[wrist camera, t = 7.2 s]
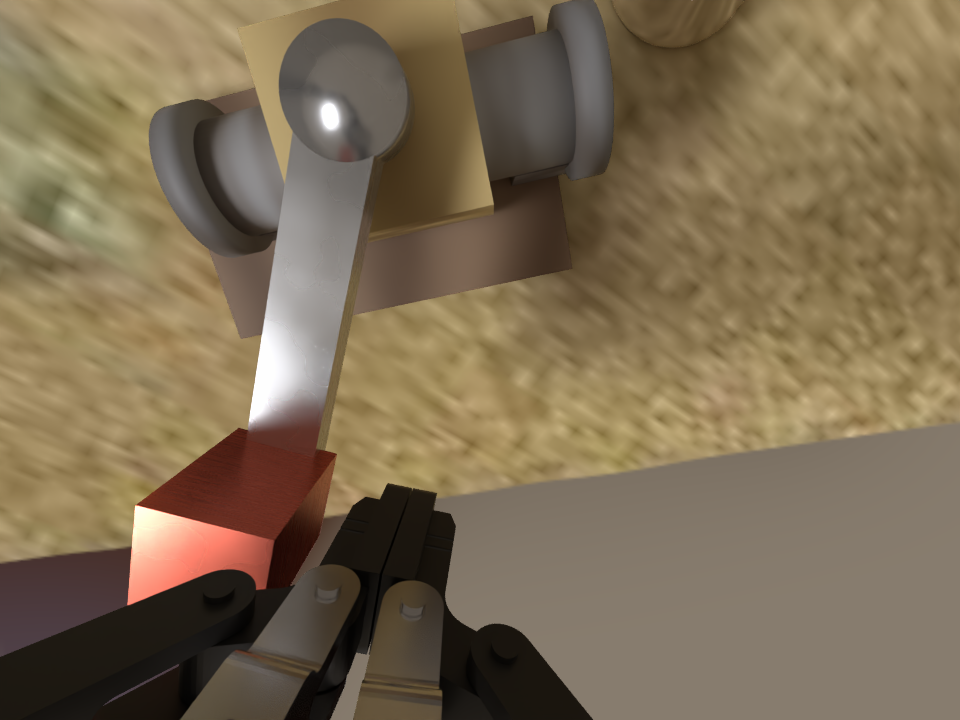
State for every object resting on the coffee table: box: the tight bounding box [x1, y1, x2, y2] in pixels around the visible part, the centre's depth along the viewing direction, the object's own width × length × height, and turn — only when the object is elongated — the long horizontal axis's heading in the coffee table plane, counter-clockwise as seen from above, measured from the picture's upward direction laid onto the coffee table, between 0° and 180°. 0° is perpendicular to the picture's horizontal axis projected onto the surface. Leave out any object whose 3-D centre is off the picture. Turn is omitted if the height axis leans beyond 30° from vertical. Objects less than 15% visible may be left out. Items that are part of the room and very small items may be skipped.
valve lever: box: [128, 18, 415, 605], centre depth 11 cm, size 14×3×5 cm, turn 164°
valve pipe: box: [149, 0, 614, 339], centre depth 17 cm, size 17×10×10 cm, turn 102°
